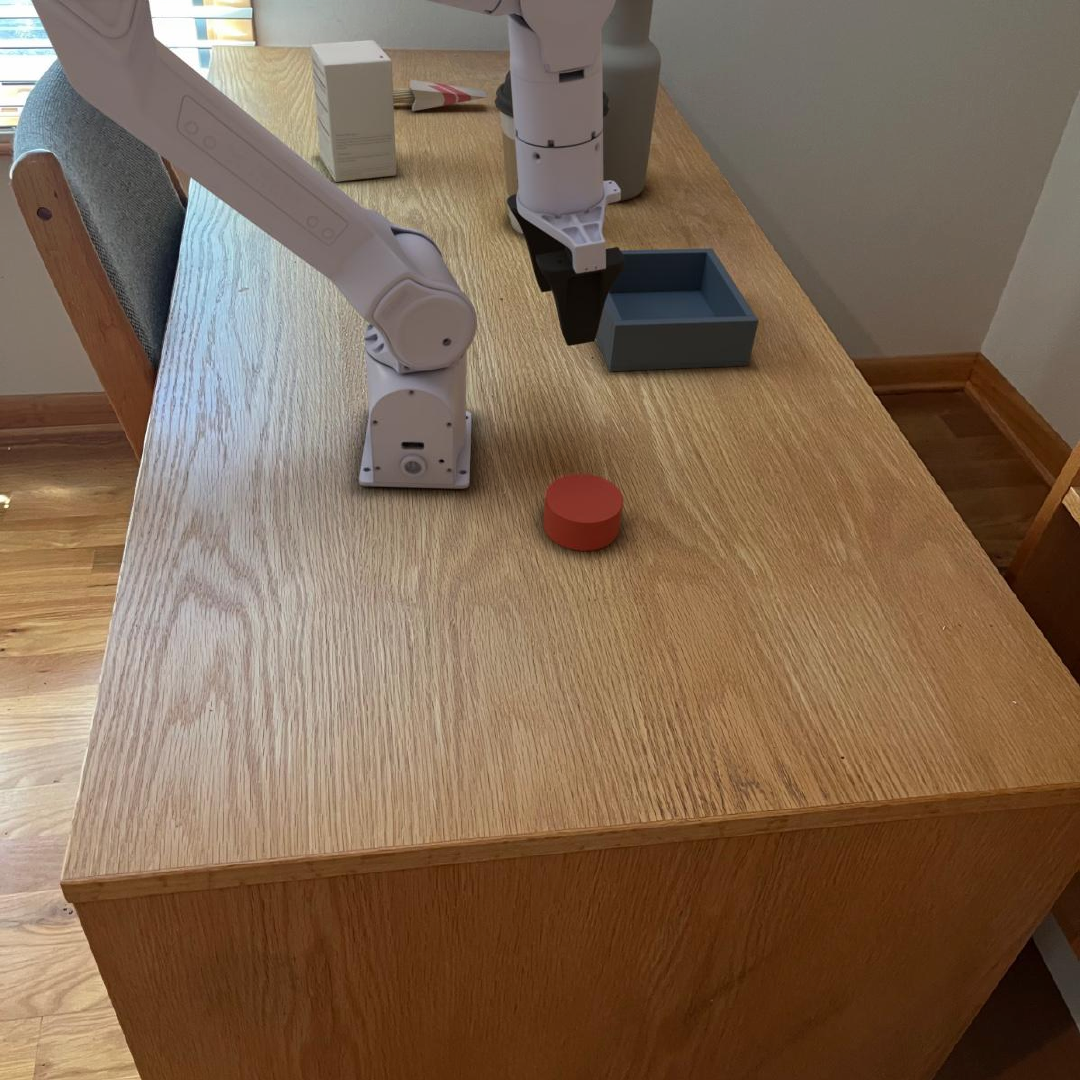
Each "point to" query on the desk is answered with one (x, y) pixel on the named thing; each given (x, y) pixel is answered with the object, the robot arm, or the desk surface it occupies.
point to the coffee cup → (508, 136)
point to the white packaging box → (354, 109)
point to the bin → (675, 313)
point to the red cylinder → (582, 512)
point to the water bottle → (628, 94)
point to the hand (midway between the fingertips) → (566, 313)
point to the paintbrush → (434, 94)
